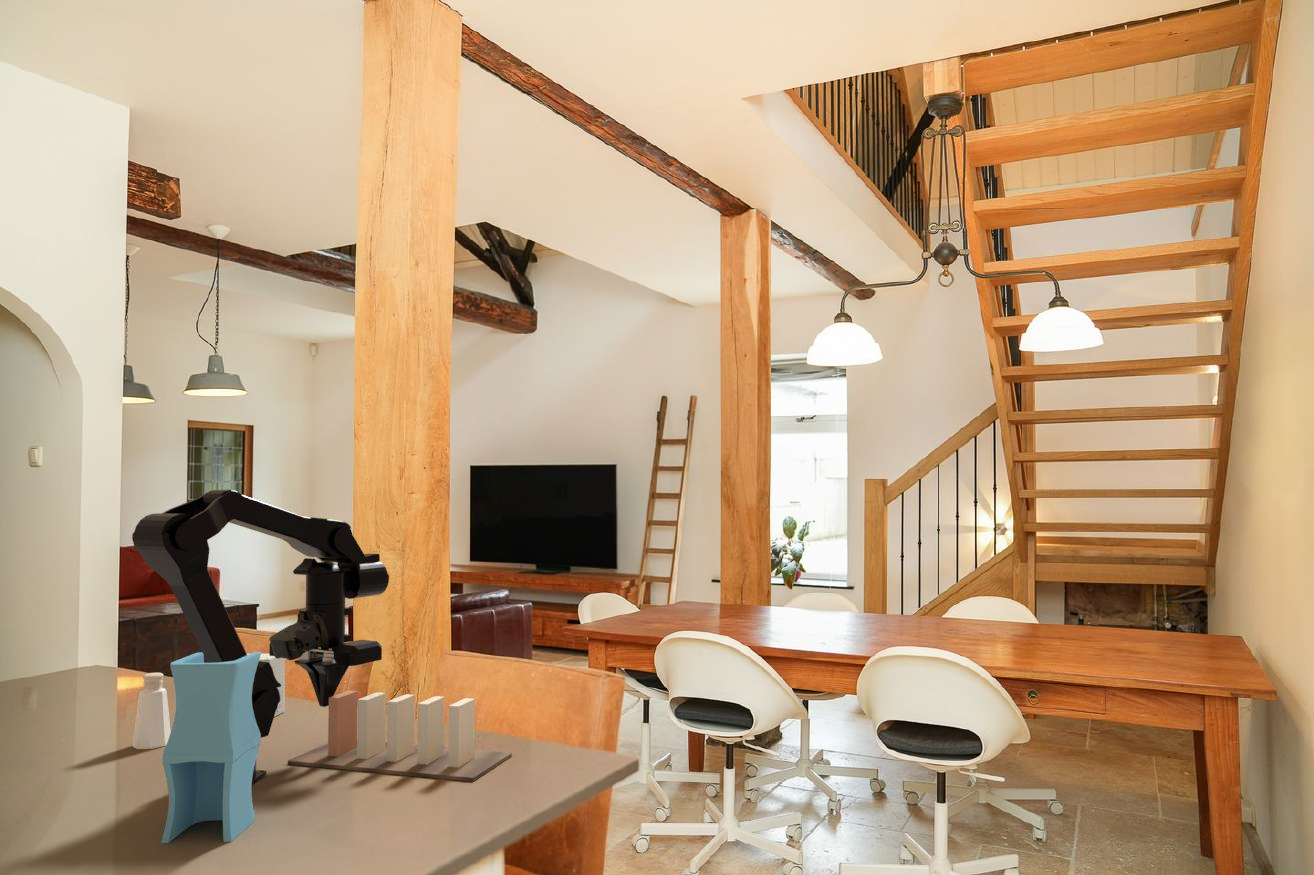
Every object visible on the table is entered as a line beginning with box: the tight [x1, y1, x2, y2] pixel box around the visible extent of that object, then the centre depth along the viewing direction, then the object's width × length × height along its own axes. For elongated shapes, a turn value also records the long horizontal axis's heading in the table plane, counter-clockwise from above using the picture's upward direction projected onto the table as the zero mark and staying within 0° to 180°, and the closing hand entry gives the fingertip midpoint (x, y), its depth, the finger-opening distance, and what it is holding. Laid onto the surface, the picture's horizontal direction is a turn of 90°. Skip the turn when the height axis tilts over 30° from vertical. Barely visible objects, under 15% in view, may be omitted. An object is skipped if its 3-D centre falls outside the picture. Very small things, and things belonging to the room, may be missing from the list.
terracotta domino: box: [327, 690, 358, 757], centre depth 136 cm, size 2×5×8 cm, turn 163°
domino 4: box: [448, 697, 476, 767], centre depth 130 cm, size 2×5×8 cm, turn 163°
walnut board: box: [287, 741, 513, 782], centre depth 133 cm, size 30×12×1 cm, turn 73°
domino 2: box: [386, 693, 416, 762], centre depth 133 cm, size 2×5×8 cm, turn 164°
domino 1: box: [357, 691, 387, 759], centre depth 135 cm, size 2×5×8 cm, turn 164°
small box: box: [247, 653, 286, 718], centre depth 160 cm, size 8×6×10 cm
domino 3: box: [417, 695, 446, 765], centre depth 132 cm, size 2×5×8 cm, turn 163°
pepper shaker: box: [131, 672, 172, 750], centre depth 142 cm, size 5×5×11 cm
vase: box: [160, 651, 262, 844], centre depth 107 cm, size 8×8×20 cm
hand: (324, 706), depth 137 cm, fingers closed
